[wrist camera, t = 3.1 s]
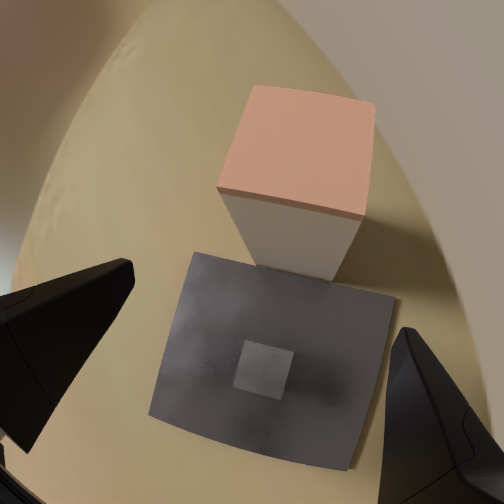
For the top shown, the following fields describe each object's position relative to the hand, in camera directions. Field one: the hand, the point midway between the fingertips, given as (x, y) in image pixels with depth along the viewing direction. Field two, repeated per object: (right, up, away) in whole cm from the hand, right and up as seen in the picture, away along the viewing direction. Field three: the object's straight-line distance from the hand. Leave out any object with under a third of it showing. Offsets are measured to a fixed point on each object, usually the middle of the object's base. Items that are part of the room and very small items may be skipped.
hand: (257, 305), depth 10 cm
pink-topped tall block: (+4, +3, +14) cm, 14 cm away
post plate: (+1, -6, +12) cm, 13 cm away
